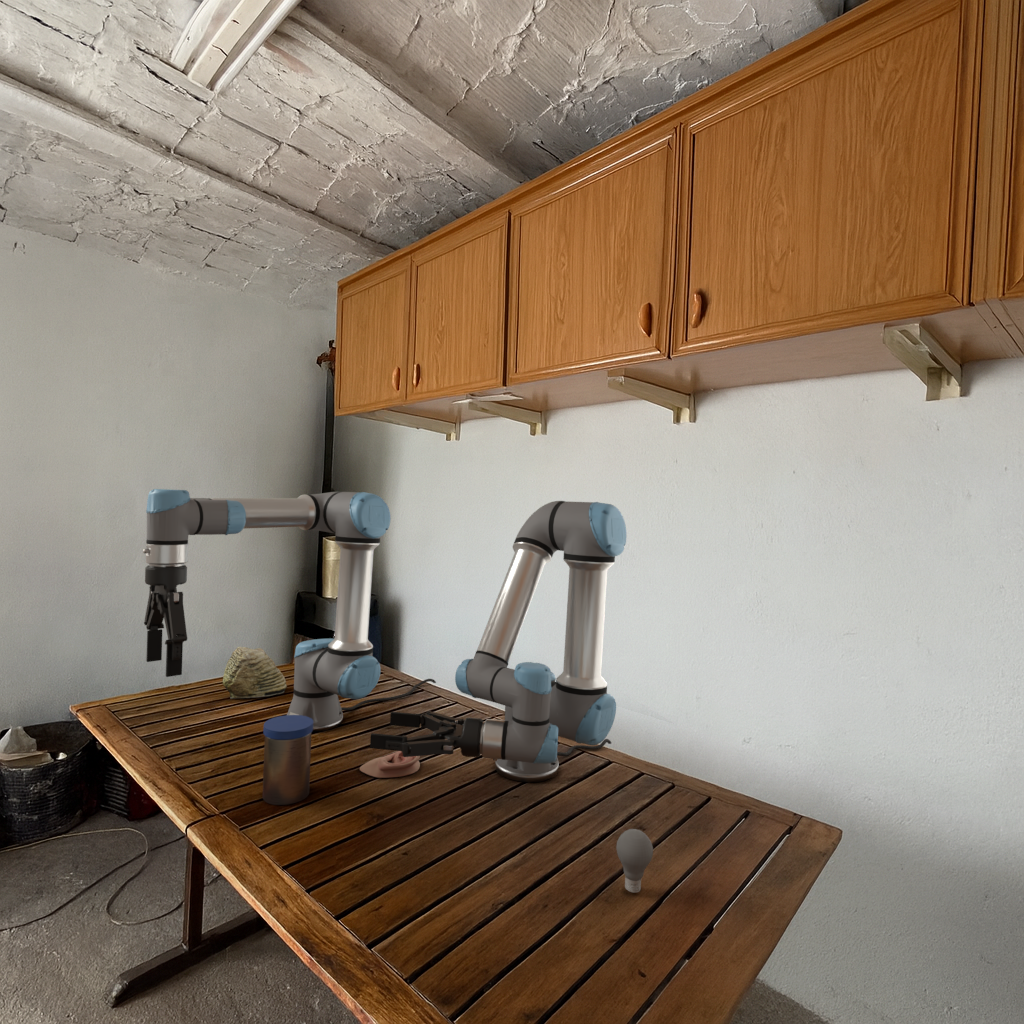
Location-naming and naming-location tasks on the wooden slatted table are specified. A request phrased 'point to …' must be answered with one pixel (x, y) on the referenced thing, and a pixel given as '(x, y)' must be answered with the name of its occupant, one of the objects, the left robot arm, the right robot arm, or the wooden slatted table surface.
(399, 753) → the anatomical model
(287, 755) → the jar
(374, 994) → the wooden slatted table surface
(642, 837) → the light bulb
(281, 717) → the lid
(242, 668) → the fossil
